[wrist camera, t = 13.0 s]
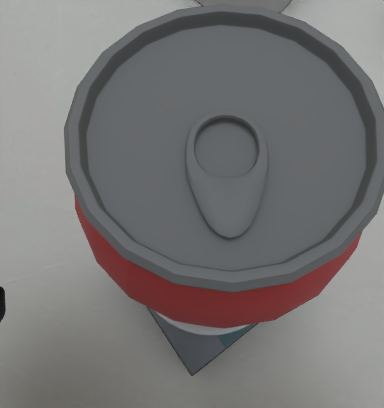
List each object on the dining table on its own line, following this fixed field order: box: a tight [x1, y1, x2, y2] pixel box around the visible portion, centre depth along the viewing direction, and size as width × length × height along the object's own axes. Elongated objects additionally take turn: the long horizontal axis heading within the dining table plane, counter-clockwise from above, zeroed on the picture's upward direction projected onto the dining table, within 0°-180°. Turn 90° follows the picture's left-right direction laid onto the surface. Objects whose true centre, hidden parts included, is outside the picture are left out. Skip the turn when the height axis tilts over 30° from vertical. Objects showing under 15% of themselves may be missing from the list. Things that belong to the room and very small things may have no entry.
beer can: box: [64, 4, 384, 329], centre depth 11 cm, size 7×7×12 cm
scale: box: [147, 307, 258, 376], centre depth 18 cm, size 8×8×2 cm
